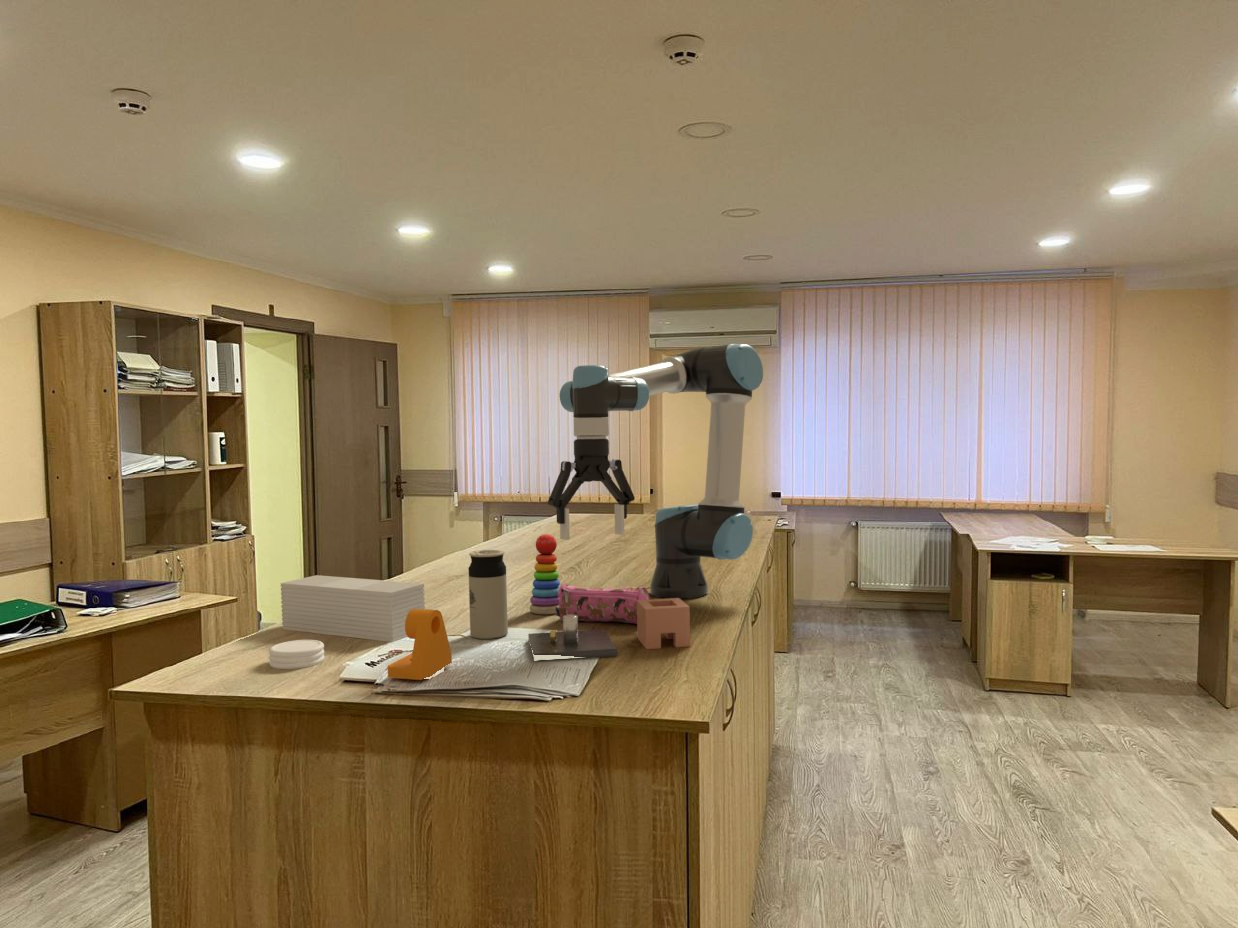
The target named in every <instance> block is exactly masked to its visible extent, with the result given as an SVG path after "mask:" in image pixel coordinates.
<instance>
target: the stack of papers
mask: <svg viewBox="0 0 1238 928" xmlns="http://www.w3.org/2000/svg"><path fill="white" fill-rule="evenodd" d="M424 592H425V583H422V582H421V583H420V582H407V581H396V580H394V581H393V580H380V579H368V578H359V577H357V578H356V577H343V576H330V575H320V574H319V575H312V576H308V577H307V576H306V577H302V578H298V579H293V580H288V581H285V582H281V583H280V599H281V601H280V602H281V605H280V606H281V617H282V618H281V621H282V622H281V625H282V627H281V628H282V630H285V631H286V630H288V631H294V632H295V631H297V632H304V633H305V632H306V633H314V634H320V635H322V634H323V635H330V636H336V637H337V636H338V637H344V638H345V637H347V638H355V639H362V640H371V641H381V642H390V643H395V642H397V641H400V640H403V639H406V638H409V637H408V636H407V635H406V632H405V621H406V617H407V615H408V613H409V611H410V610H412V609H426V608H425V605H426V604H425V603H426V602H425V593H424ZM394 641H395V642H394Z"/></svg>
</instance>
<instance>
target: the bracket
mask: <svg viewBox="0 0 1238 928" xmlns="http://www.w3.org/2000/svg"><path fill="white" fill-rule="evenodd" d="M405 632H406V635H407V636H408V637H407V638H409V639H412V640H414V641H413V642H414V643H413V648H412V649H413V650H412V653H410V654H409V655H406V656H404V657H403V658H400V659H397V660H396V661H394V662H392V663H390V664H388V665H387V677H388V678H392V679H402V680H416V681H423V680H422V679H424V678H426V677H430V676H432V675H433V674H435V673H436V672H437V671H439V670H441V669H442V668H443V667H445V666H446V665H448V664H449V665H451V664H452V662H453V661H452V659H453V658H452V650H451V646H450V643H449V639H448V638H449V637H448V634H447V629H446V625H445V622H444V618H443V614H442V612H441V611H440V610H439V609H426V608H425V609H412V610H410V611H409V613H408V615H407V617H406V621H405ZM450 663H451V664H450ZM449 665H448V666H449ZM446 667H447V666H446ZM446 667H445V668H446Z"/></svg>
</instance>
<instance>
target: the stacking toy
mask: <svg viewBox="0 0 1238 928" xmlns="http://www.w3.org/2000/svg"><path fill="white" fill-rule="evenodd" d="M557 543H558V542H557V539H556V537H554V536H553V535H552V534H548V533H544V534H541V535H540V536H539V537H537V539H536V540H535V548H536V551H537V552H538V553H539V554H536V556H535V562H536V563H535V565H534V570H535V572H534V574H533V577H534V580H533V581H532V587H533V588H532V590H531V595H532V596H531V597H530V599H529V600H530V603H531V604H530V606H529V611H530V612H531V613H532V614H536V615H554V614H555V615H556V611H555V608H556V607H557V608H559V598H560V597H559V598H558V591H559V588H560V586H561V582H560V581H561V580H559V579H558V578H559V575H560V574H559V572H558V570H557V569H558V564H557V563H556V562H557V559H558V557H557V555H556V554H555V553H554V552H555V551H556V549H557V547H558V546H557V545H558V544H557Z"/></svg>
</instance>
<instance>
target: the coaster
mask: <svg viewBox="0 0 1238 928" xmlns="http://www.w3.org/2000/svg"><path fill="white" fill-rule="evenodd" d="M324 648H325V644H324V643H323V642H322V641H320V640H316V639H296V640H288V641H285V642H280V643H277V644H275V645H272V646H271V647H270V648H269V650H268V652H269V653H268V654H269V656H268V659H269V667H271V668H273V669H276V670H277V669H278V670H297V669H305V668H308V667H313V666H316V665H318V664H322V662H324V660H325V658H326V657H325V649H324Z"/></svg>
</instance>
